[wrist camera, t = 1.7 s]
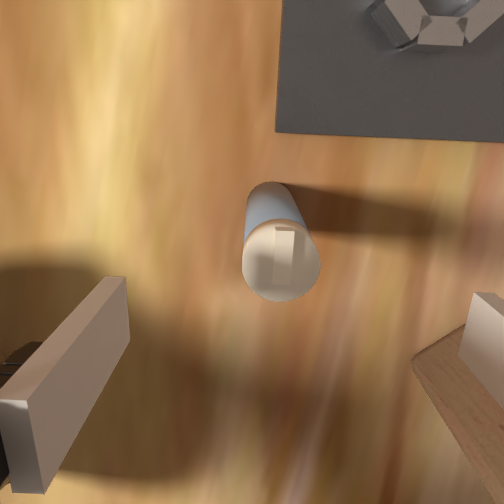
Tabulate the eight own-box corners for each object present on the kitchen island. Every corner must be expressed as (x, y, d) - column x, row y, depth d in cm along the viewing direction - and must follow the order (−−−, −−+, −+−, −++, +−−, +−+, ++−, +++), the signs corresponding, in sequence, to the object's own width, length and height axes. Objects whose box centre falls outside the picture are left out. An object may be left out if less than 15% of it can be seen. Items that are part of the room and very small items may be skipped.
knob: (292, 228, 34) (318, 309, 20) (245, 226, 34) (240, 306, 20) (295, 181, 32) (327, 232, 18) (247, 179, 32) (243, 229, 18)
